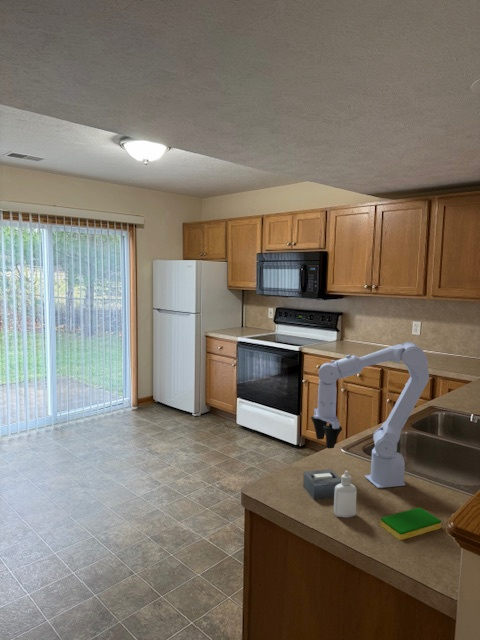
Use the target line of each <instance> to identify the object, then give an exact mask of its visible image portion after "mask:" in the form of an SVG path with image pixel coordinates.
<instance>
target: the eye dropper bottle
mask: <svg viewBox="0 0 480 640" xmlns="http://www.w3.org/2000/svg"><path fill="white" fill-rule="evenodd" d="M340 478H341V483H340V484H338V485H336V486H335V492H334V497H333V514H334V515H335V516H336V517H337V518H352V517H355V516H356V514H357V513H356V512H357V496H358V495H357V494H358V493H357V492H358V491H357V489H358V488H357V487H356V486H355V485H354V484H352V476H351V475H349V470H345V471H344V474H342V475H341V477H340Z"/></svg>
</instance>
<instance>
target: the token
mask: <svg viewBox="0 0 480 640" xmlns="http://www.w3.org/2000/svg"><path fill="white" fill-rule="evenodd" d="M329 478H332V475H331V474H330V473H324V474H314V480H319V479H329Z"/></svg>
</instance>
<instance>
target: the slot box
mask: <svg viewBox="0 0 480 640" xmlns="http://www.w3.org/2000/svg"><path fill="white" fill-rule="evenodd" d="M324 473H330V474H331V475H332V478H329V479H319V480H314V474H324ZM340 483H341V477H340V476H339V475H338V474H337V473H336V472H335V471H334V470H333V469H331V468H329V469H327V468H326V469H320V470H319V469H318V470H306V471H303V481H302V486H303V488H304V489H305V491H306V492H307V493H308V495H310V497H311V498H312V500H320V499H329V498H334V492H335V486H336V485H338V484H340Z"/></svg>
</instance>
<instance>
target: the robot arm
mask: <svg viewBox="0 0 480 640" xmlns="http://www.w3.org/2000/svg"><path fill="white" fill-rule="evenodd" d="M401 360H402V363H403V364H404V365H405V366H406V368H407V371H408V373H409V378H408V379H407V382H406V383H405V386H404V387H403V389H402V391H401V393H400V395H399V396H398V398H397V400H396V402H395V403H394V405H393V408H392V409H391V411H390V412H389V415H388V417H387V419H386V420H385V421H384V422H383V423H382V425H381V426H380V427H379V428H378V429H376V430H375V431H374V432H373V435H372V439H373V442H374V447H373V448H372V450H371V458H370V459H371V462H370V474H366V475H364V477H365V478H366V479H367V480H368V481H369V483H372V484H373V485H374V486H375V488H378V489H383V488H392V487H393V488H394V487H403V486H406V483H405V469H406V468H405V465H406V464H405V459H404V456H403V455H402V454H401V452H397V451H398V444H399V441H400V439H401V433H402V430H403V428H404V426H405V425H406V423H407V420H408V419H409V417H410V415H411V413H412V412H413V410H414V408H415V406H416V404H417V403H418V401H419V400H420V397H421V396H422V394H423V392H424V390H425V388H426V386H427V385H428V382H429V380H430V371H429V365H428V364H429V359H428V358H427V355H426V354H425V352H424V350H423V349H422V348H420V346H418V344H416V343H414V342H410V341H406V342H404V343H399V344H394V345H391V346H388V347H385V348H382V349H380V350H377V351H374V352H371V353H369V354H366V355H364V356H357V355H355V354H353V355H351V354H350V353H349V354H347V355H345V357H344V358H341V359H337V360H335V359H332V360H331V362H324V363H323V364H321V365H320V367H319V369H318V378H319V379H318V386H317V387H318V388H317V391H318V393H317V407H316V408H313V416H311V417H310V420H311V422H312V423H313V426H314V431H315V436H316V439H317V440H324V438H325V445H326V448H327V449H334V448H335V446H336V443H337V440H338V436H339V434H340V433H341V432H342V430H343V427H342V426H341V425H340V423H341V422H340V421H339V420H338V417H337V415H336V413H337V412H336V411H337V390H338V389H337V388H338V387H337V380H338V379H340V380H341V379H345V378H347V377H348V378H349V377H351V376H354V375H358V374H360V373H361V372H362V371H363V369H364V368H367V367H370V366H375V365H377V364H381V363H385V362H388V361H389V362H393V363H397V364H401ZM327 424H328V425H327Z"/></svg>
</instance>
